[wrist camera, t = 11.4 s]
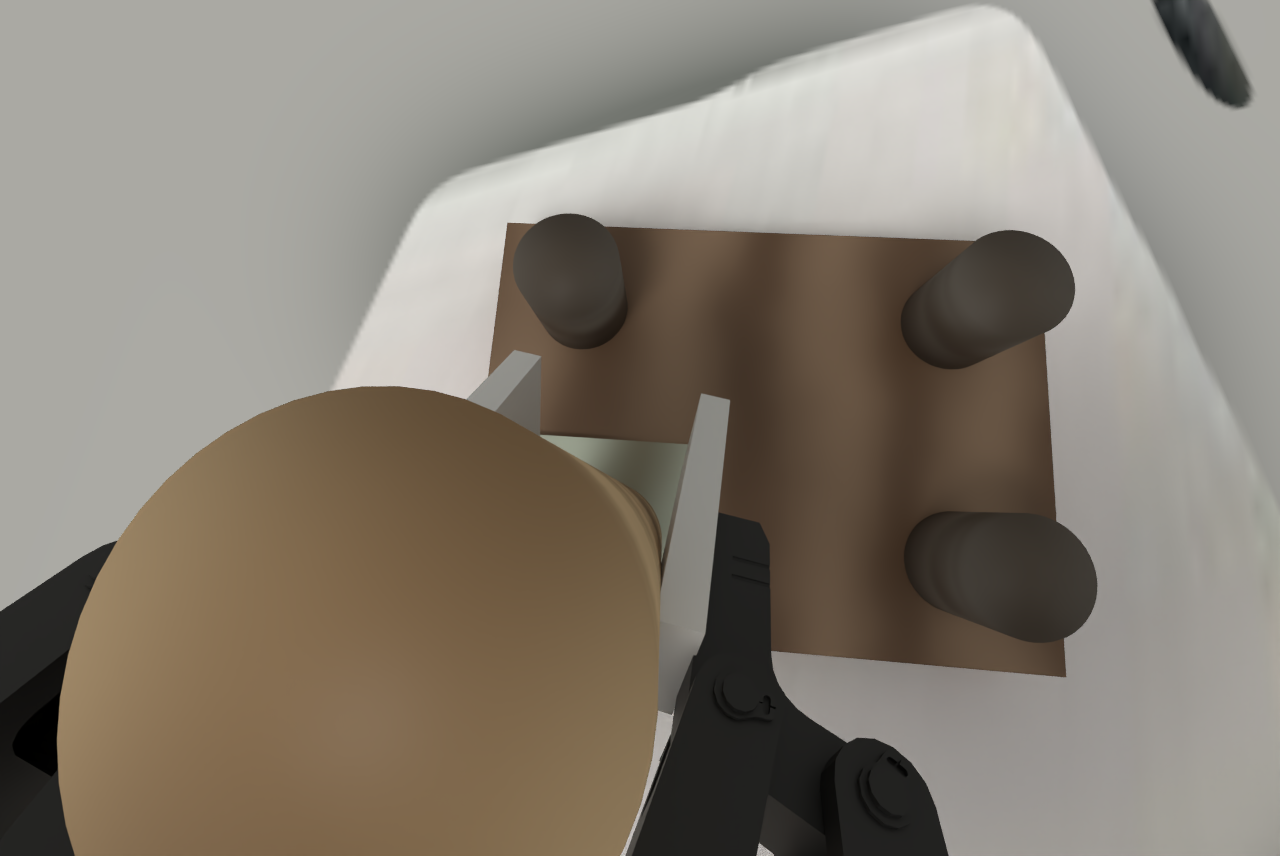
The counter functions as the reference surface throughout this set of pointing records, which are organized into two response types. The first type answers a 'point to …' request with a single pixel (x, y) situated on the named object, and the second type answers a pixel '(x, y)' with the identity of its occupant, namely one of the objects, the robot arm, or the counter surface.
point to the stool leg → (368, 645)
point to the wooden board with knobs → (828, 418)
